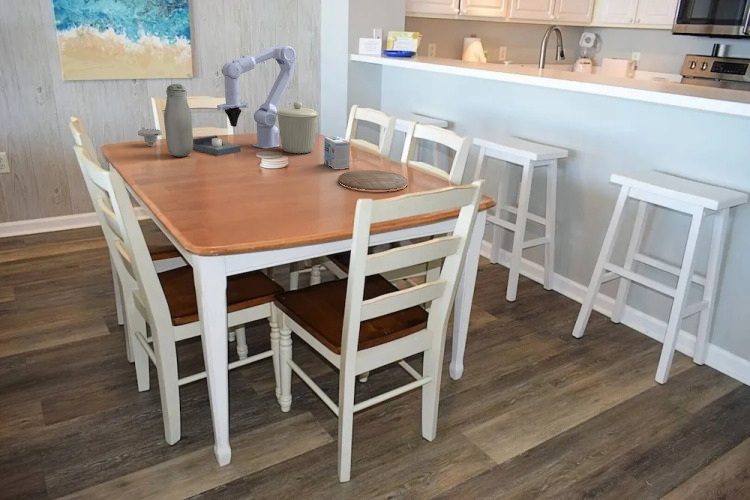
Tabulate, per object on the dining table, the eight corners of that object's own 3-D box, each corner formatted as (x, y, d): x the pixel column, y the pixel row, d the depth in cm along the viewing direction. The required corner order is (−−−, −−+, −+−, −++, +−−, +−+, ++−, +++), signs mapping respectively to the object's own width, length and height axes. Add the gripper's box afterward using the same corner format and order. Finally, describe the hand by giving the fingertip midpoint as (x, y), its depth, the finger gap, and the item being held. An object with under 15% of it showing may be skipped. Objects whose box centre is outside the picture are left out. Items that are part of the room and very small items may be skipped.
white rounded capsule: (217, 149, 246) (217, 137, 244) (224, 150, 244) (223, 139, 242) (210, 150, 243) (209, 139, 241) (216, 152, 241) (216, 140, 239)
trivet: (329, 176, 214) (329, 171, 213) (392, 173, 222) (392, 168, 222) (351, 195, 192) (351, 190, 192) (419, 191, 201) (419, 186, 200)
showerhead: (152, 126, 249) (165, 129, 244) (153, 142, 252) (167, 146, 247) (132, 128, 242) (145, 131, 237) (134, 145, 245) (147, 149, 240)
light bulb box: (323, 163, 231) (323, 137, 227) (338, 162, 234) (339, 136, 230) (334, 170, 222) (334, 142, 218) (350, 169, 225) (350, 141, 221)
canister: (316, 157, 241) (316, 105, 233) (273, 154, 241) (272, 103, 233) (321, 148, 258) (321, 99, 250) (280, 146, 258) (280, 97, 250)
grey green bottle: (178, 160, 225) (172, 86, 214) (162, 155, 230) (156, 83, 220) (199, 156, 232) (194, 84, 222) (183, 152, 238) (178, 82, 227)
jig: (216, 145, 252) (215, 135, 251) (240, 151, 244) (240, 141, 242) (193, 149, 243) (192, 138, 242) (217, 155, 234) (217, 144, 233)
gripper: (224, 95, 231) (226, 129, 236) (252, 93, 242) (253, 125, 247) (213, 93, 234) (215, 127, 240) (240, 91, 245) (242, 123, 250)
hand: (233, 126), depth 243 cm, fingers closed
